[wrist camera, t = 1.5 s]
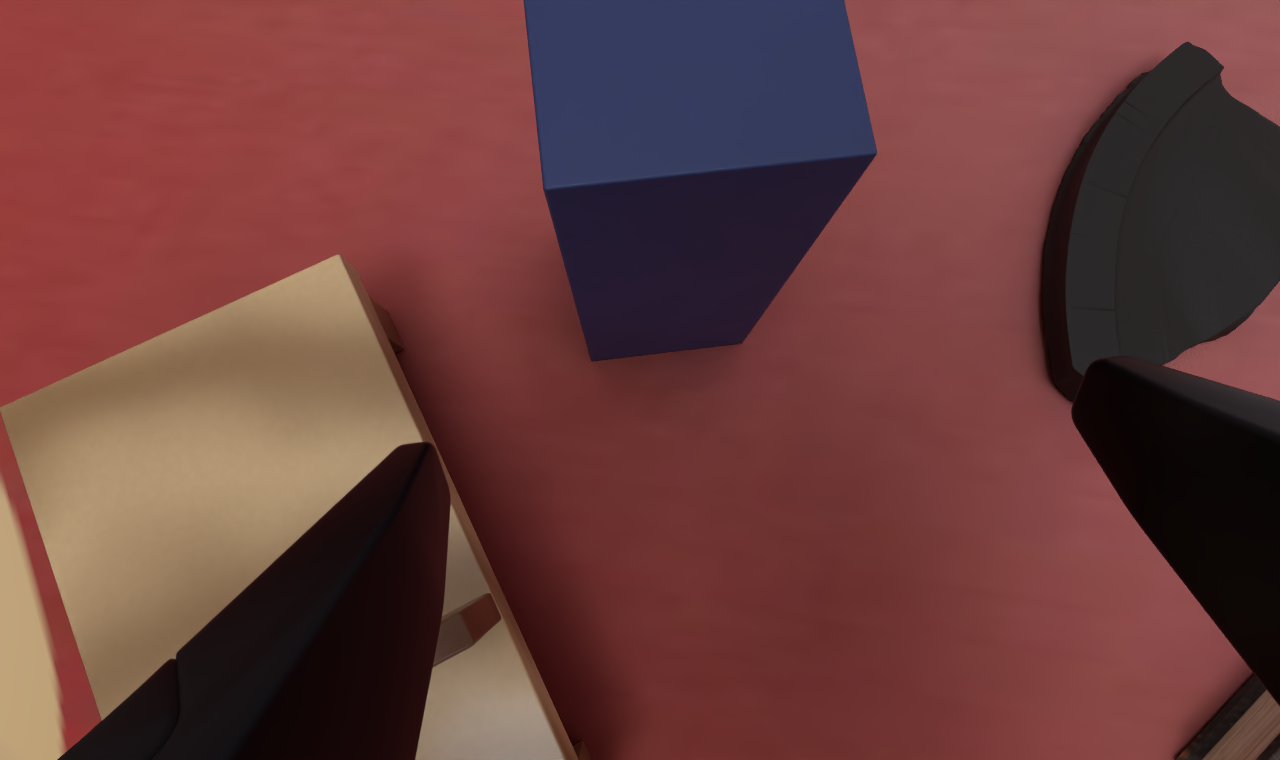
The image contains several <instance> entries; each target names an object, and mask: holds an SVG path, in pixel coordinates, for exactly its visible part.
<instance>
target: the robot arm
mask: <svg viewBox="0 0 1280 760" xmlns="http://www.w3.org/2000/svg"><path fill="white" fill-rule="evenodd" d="M1071 414H1072V419H1073V422H1074V425H1075V426H1076V428H1077V430H1078V431H1079V433H1080V434H1081V436H1082V438H1083V439H1084V441H1085V442H1086V444H1087V446H1088V447H1089V449H1090V450H1091V452H1092V453H1093V455H1094V457H1095V458H1096V460H1097V461H1098V463H1099V465H1100V466H1101V468H1102V469H1103V471H1104V473H1105V474H1106V476H1107V477H1108V479H1109V481H1110V482H1111V484H1112V485H1113V487H1114V488H1115V490H1116V492H1117V493H1118V495H1119V496H1120V498H1121V500H1122V501H1123V503H1124V504H1125V506H1126V507H1127V509H1128V510H1129V512H1130V513H1131V515H1132V516H1133V517H1134V519H1135V520H1136V522H1137V523H1138V524H1139V526H1140V527H1141V528H1142V530H1143V531H1144V532H1145V534H1146V535H1147V536H1148V537H1149V539H1150V540H1151V541H1152V543H1153V544H1154V545H1155V546H1156V548H1157V549H1158V550H1159V552H1160V553H1161V554H1162V555H1163V557H1164V558H1165V559H1166V561H1167V562H1168V563H1169V564H1170V566H1171V567H1172V568H1173V570H1174V571H1175V572H1176V574H1177V575H1178V576H1179V577H1180V579H1181V580H1182V581H1183V583H1184V584H1185V585H1186V586H1187V588H1188V589H1189V590H1190V592H1191V593H1192V594H1193V595H1194V597H1195V598H1196V599H1197V601H1198V602H1199V603H1200V604H1201V606H1202V607H1203V608H1204V610H1205V611H1206V612H1207V613H1208V615H1209V616H1210V617H1211V619H1212V620H1213V621H1214V622H1215V624H1216V625H1217V626H1218V628H1219V629H1220V630H1221V632H1222V633H1223V634H1224V635H1225V637H1226V638H1227V639H1228V641H1229V642H1230V643H1231V644H1232V646H1233V647H1234V648H1235V650H1236V651H1237V652H1238V653H1239V655H1240V656H1241V657H1242V659H1243V660H1244V661H1245V662H1246V664H1247V665H1248V666H1249V668H1250V669H1251V670H1252V671H1253V673H1254V674H1255V675H1256V677H1257V678H1258V679H1259V680H1260V682H1261V683H1262V684H1263V686H1264V687H1265V688H1266V690H1267V691H1268V692H1269V693H1270V695H1271V696H1272V697H1273V699H1274V700H1275V701H1276V702H1277V704H1278V705H1279V706H1280V401H1278V400H1275V399H1272V398H1268V397H1265V396H1262V395H1258V394H1255V393H1252V392H1248V391H1245V390H1242V389H1238V388H1235V387H1231V386H1228V385H1225V384H1221V383H1218V382H1215V381H1211V380H1208V379H1205V378H1201V377H1198V376H1195V375H1191V374H1188V373H1185V372H1181V371H1178V370H1175V369H1171V368H1168V367H1165V366H1161V365H1158V364H1155V363H1151V362H1148V361H1144V360H1141V359H1138V358H1134V357H1131V356H1116V357H1108V358H1100V359H1097V360H1095V361H1093V362H1092V363H1091V364H1090V365H1089V366H1088V368H1087V369H1086V372H1085V374H1084V377H1083V379H1082V382H1081V385H1080V387H1079V390H1078V392H1077V395H1076V397H1075V400H1074V402H1073V405H1072V411H1071ZM450 506H451V499H450V490H449V486H448V483H447V480H446V477H445V474H444V471H443V468H442V465H441V463H440V460H439V457H438V454H437V451H436V449H435V447H434V446H433V444H432V443H430V442H417V443H409V444H403V445H400V446H398V447H397V448H395V449H394V450H393V451H392V452H391V453H390V454H389V455H388V456H387V457H386V458H385V459H383V460H382V461H381V462H380V463H379V464H378V465H377V466H376V467H375V468H374V469H373V470H372V471H371V472H370V473H368V474H367V475H366V476H365V477H364V478H363V479H362V480H361V481H360V482H359V483H358V484H357V485H356V486H355V487H353V488H352V489H351V490H350V491H349V492H348V493H347V494H346V495H345V496H344V497H343V498H342V499H341V500H340V501H338V502H337V503H336V504H335V505H334V506H333V507H332V508H331V509H330V510H329V511H328V512H327V513H326V514H324V515H323V516H322V517H321V518H320V519H319V520H318V521H317V522H316V523H315V524H314V525H313V526H312V527H311V528H309V529H308V530H307V531H306V532H305V533H304V534H303V535H302V536H301V537H300V538H299V539H298V540H297V541H296V542H294V543H293V544H292V545H291V546H290V547H289V548H288V549H287V550H286V551H285V552H284V553H283V554H282V555H281V556H279V557H278V558H277V559H276V560H275V561H274V562H273V563H272V564H271V565H270V566H269V567H268V568H267V569H266V570H264V571H263V572H262V573H261V574H260V575H259V576H258V577H257V578H256V579H255V580H254V581H253V582H252V583H250V584H249V585H248V586H247V587H246V588H245V589H244V590H243V591H242V592H241V593H240V594H239V595H238V596H237V597H235V598H234V599H233V600H232V601H231V602H230V603H229V604H228V605H227V606H226V607H225V608H224V609H223V610H222V611H220V612H219V613H218V614H217V615H216V616H215V617H214V618H213V619H212V620H211V621H210V622H209V623H208V624H207V625H205V626H204V627H203V628H202V629H201V630H200V631H199V632H198V633H197V634H196V635H195V636H194V637H193V638H191V639H190V640H189V641H188V642H187V643H186V644H185V645H184V646H183V647H182V648H181V649H180V650H179V651H178V652H177V653H176V659H173V658H172V659H169V660H168V661H166V662H165V663H164V664H163V665H162V666H161V667H160V668H159V669H158V670H157V671H156V672H155V673H154V674H153V675H151V676H150V677H149V678H148V679H147V680H146V681H145V682H144V683H143V684H142V685H141V686H140V687H139V688H138V689H136V690H135V691H134V692H133V693H132V694H131V695H130V696H129V697H128V698H126V699H125V700H124V701H123V702H122V703H121V704H120V705H119V706H118V707H117V708H115V709H114V710H113V711H112V712H111V713H110V714H109V715H108V716H107V717H105V718H104V719H103V720H102V721H101V722H100V723H99V724H98V725H97V726H95V727H94V728H93V729H92V730H91V731H90V732H89V733H88V734H87V735H85V736H84V737H83V738H82V739H81V740H80V741H79V742H78V743H76V744H75V745H74V746H73V747H72V748H70V749H69V750H68V751H67V752H66V753H65V754H63V755H62V756H61V757H60V758H59V759H58V760H415V759H416V753H417V748H418V743H419V737H420V732H421V727H422V721H423V716H424V711H425V705H426V700H427V695H428V689H429V684H430V679H431V673H432V668H433V663H434V658H435V652H436V647H437V642H438V636H439V631H440V626H441V619H442V613H443V606H444V595H445V582H446V566H447V551H448V536H449V521H450Z"/></svg>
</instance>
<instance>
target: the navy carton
mask: <svg viewBox="0 0 1280 760" xmlns="http://www.w3.org/2000/svg"><path fill="white" fill-rule="evenodd" d="M524 8H525V18H526V27H527V37H528V47H529V56H530V66H531V75H532V85H533V94H534V104H535V113H536V123H537V132H538V142H539V151H540V161H541V170H542V180H543V189H544V192H545V196H546V200H547V203H548V207H549V210H550V214H551V218H552V221H553V225H554V228H555V232H556V236H557V239H558V243H559V247H560V250H561V254H562V257H563V261H564V265H565V268H566V272H567V275H568V279H569V283H570V286H571V290H572V293H573V297H574V301H575V304H576V308H577V311H578V315H579V319H580V322H581V326H582V330H583V333H584V337H585V340H586V344H587V348H588V351H589V355H590V358H591V361H598V360H606V359H614V358H623V357H631V356H639V355H648V354H656V353H665V352H673V351H681V350H690V349H698V348H706V347H715V346H723V345H731V344H740V343H742V342H743V341H744V340H745V338H746V337H747V335H748V334H749V333H750V331H751V330H752V328H753V327H754V326H755V324H756V323H757V321H758V320H759V319H760V317H761V316H762V314H763V313H764V312H765V310H766V309H767V307H768V306H769V305H770V303H771V302H772V300H773V299H774V298H775V296H776V295H777V293H778V292H779V291H780V289H781V288H782V286H783V285H784V284H785V282H786V281H787V279H788V278H789V277H790V275H791V274H792V272H793V271H794V270H795V268H796V267H797V265H798V264H799V263H800V261H801V260H802V258H803V257H804V256H805V254H806V253H807V251H808V250H809V249H810V247H811V246H812V244H813V243H814V242H815V240H816V239H817V237H818V236H819V235H820V233H821V232H822V230H823V229H824V228H825V226H826V225H827V223H828V222H829V221H830V219H831V218H832V216H833V215H834V213H835V212H836V211H837V209H838V208H839V206H840V205H841V204H842V202H843V201H844V199H845V198H846V197H847V195H848V194H849V192H850V191H851V190H852V188H853V187H854V185H855V184H856V183H857V181H858V180H859V178H860V177H861V176H862V174H863V173H864V171H865V170H866V169H867V167H868V166H869V164H870V163H871V162H872V160H873V159H874V157H875V156H876V155H877V149H876V145H875V140H874V136H873V131H872V126H871V122H870V117H869V113H868V108H867V103H866V99H865V94H864V90H863V85H862V80H861V76H860V71H859V67H858V62H857V57H856V53H855V48H854V44H853V39H852V35H851V30H850V25H849V21H848V16H847V12H846V7H845V2H844V0H524Z"/></svg>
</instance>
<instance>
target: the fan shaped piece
mask: <svg viewBox="0 0 1280 760" xmlns="http://www.w3.org/2000/svg"><path fill="white" fill-rule="evenodd" d="M1223 68H1224V67H1223V66H1222V65H1221V64H1220V63H1219V62H1218V61H1217V60H1216V59H1215V58H1214V57H1213V56H1212V55H1211V54H1210V53H1208V52H1207V51H1206V50H1204V49H1202V48H1200V47H1196V46H1194V45H1192V44H1191V43H1189V42H1185V43H1184V44H1182V45H1181V46H1180V47H1178V48H1177V49H1176V50H1174V51H1173V52H1172V53H1171V54H1170V55H1168V56H1167V57H1166V58H1165V59H1164V60H1163V61H1162V62H1160V63H1159V64H1158V65H1157V66H1156V67H1155V68H1154V69H1153V70H1152V71H1149V72H1146V73H1143V74H1141V75H1140V76H1139V77H1138V78H1136V79H1134V80H1133V81H1132V82H1131V83H1130V84H1129V87H1128V89H1126V90H1124V91H1123V92H1122V93H1121V94H1119V95H1118V96H1117V98H1116V99H1115V100H1114V102H1113V103H1112V104H1111V105H1110V106H1109V107H1108V108H1107V110H1106V111H1105V112H1103V113H1102V115H1101V117H1100V119H1099V120H1098V121H1097V122H1096V123H1095V124H1094V125H1093V127H1092V128H1091V130H1090V131H1089V132H1088V133H1087V134H1086V136H1085V137H1084V138H1083V140H1082V142H1081V146H1080V147H1079V148H1078V149H1077V151H1076V154H1075V155H1074V158H1073V160H1072V162H1071V164H1070V165H1069V166H1068V168H1067V171H1066V173H1065V175H1064V178H1063V181H1062V184H1061V185H1060V188H1059V191H1058V194H1057V197H1056V202H1055V204H1054V207H1053V210H1052V215H1051V221H1050V225H1049V233H1048V236H1047V239H1046V242H1045V248H1044V268H1043V293H1042V298H1043V314H1044V323H1045V330H1046V335H1047V341H1048V347H1049V353H1050V360H1051V366H1052V372H1053V377H1054V381H1055V383H1056V385H1057V387H1058V388H1059V389H1060V390H1061V391H1062V392H1063V393H1064V394H1065V395H1066V396H1067V397H1068V398H1069V399H1070V400H1071V401H1072V402H1074V400H1075V397H1076V395H1077V392H1078V390H1079V387H1080V385H1081V382H1082V379H1083V377H1084V374H1085V372H1086V369H1087V368H1088V366H1089V365H1090V364H1091V363H1092V362H1093V361H1095V360H1097V359H1100V358H1108V357H1116V356H1131V357H1134V358H1138V359H1141V360H1144V361H1148V362H1151V363H1155V364H1158V365H1161V366H1162V365H1164V364H1166V363H1168V362H1170V361H1172V360H1174V359H1175V358H1176V357H1178V356H1179V355H1180V354H1181V353H1182V352H1183V351H1185V350H1187V349H1189V348H1191V347H1193V346H1195V345H1197V344H1200V343H1202V342H1209V341H1213V340H1216V339H1218V338H1220V337H1223V336H1225V335H1228V334H1229V333H1230V332H1232V331H1233V330H1235V329H1236V328H1237V327H1238V326H1239V325H1241V324H1242V323H1243V322H1244V321H1245V320H1247V319H1248V318H1249V316H1250V315H1251V314H1252V313H1253V312H1254V310H1255V309H1256V308H1257V306H1259V305H1260V304H1261V303H1262V302H1263V301H1264V299H1265V298H1266V297H1267V296H1268V295H1269V293H1270V292H1271V291H1272V290H1273V288H1274V287H1275V286H1276V285H1277V284H1278V282H1279V281H1280V127H1279V126H1278V125H1276V124H1275V123H1273V122H1271V121H1270V120H1268V119H1267V118H1265V117H1263V116H1262V115H1260V114H1259V113H1258V112H1256V111H1255V110H1253V109H1252V108H1250V107H1248V106H1247V105H1245V104H1243V103H1241V102H1239V101H1238V100H1236V99H1235V98H1233V97H1232V96H1231V95H1230V94H1229V93H1228V92H1227V91H1226V90H1225V88H1224V87H1223V85H1222V80H1221V76H1220V73H1221V71H1222V70H1223Z"/></svg>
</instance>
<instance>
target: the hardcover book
mask: <svg viewBox="0 0 1280 760" xmlns="http://www.w3.org/2000/svg"><path fill="white" fill-rule="evenodd" d="M1176 760H1280V706H1279V705H1278V704H1277V702H1276V701H1275V700H1274V699H1273V697H1272V696H1271V695H1270V693H1269V692H1268V691H1267V690H1266V688H1265V687H1264V686H1263V684H1262V683H1261V682H1260V680H1259V679H1258V678H1257V677H1256V675H1255V674H1254V676H1253V677H1252V678H1251V679H1250V680H1249V681H1248V682H1247V683H1246V684H1245V685H1244V686H1243V687H1242V689H1241V690H1240V691H1239V692H1238V693H1237V694H1236V695H1235V696H1234V697H1233V698H1232V699H1231V700H1230V701H1229V703H1228V704H1227V705H1226V706H1225V707H1224V708H1223V709H1222V710H1221V711H1220V712H1219V713H1218V714H1217V716H1216V717H1215V718H1214V719H1213V720H1212V721H1211V722H1210V723H1209V724H1208V725H1207V726H1206V727H1205V729H1204V730H1203V731H1202V732H1201V733H1200V734H1199V735H1198V736H1197V737H1196V738H1195V739H1194V740H1193V742H1192V743H1191V744H1190V745H1189V746H1188V747H1187V748H1186V749H1185V750H1184V751H1183V752H1182V753H1181V754H1180V756H1179V757H1178V758H1177V759H1176Z"/></svg>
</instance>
